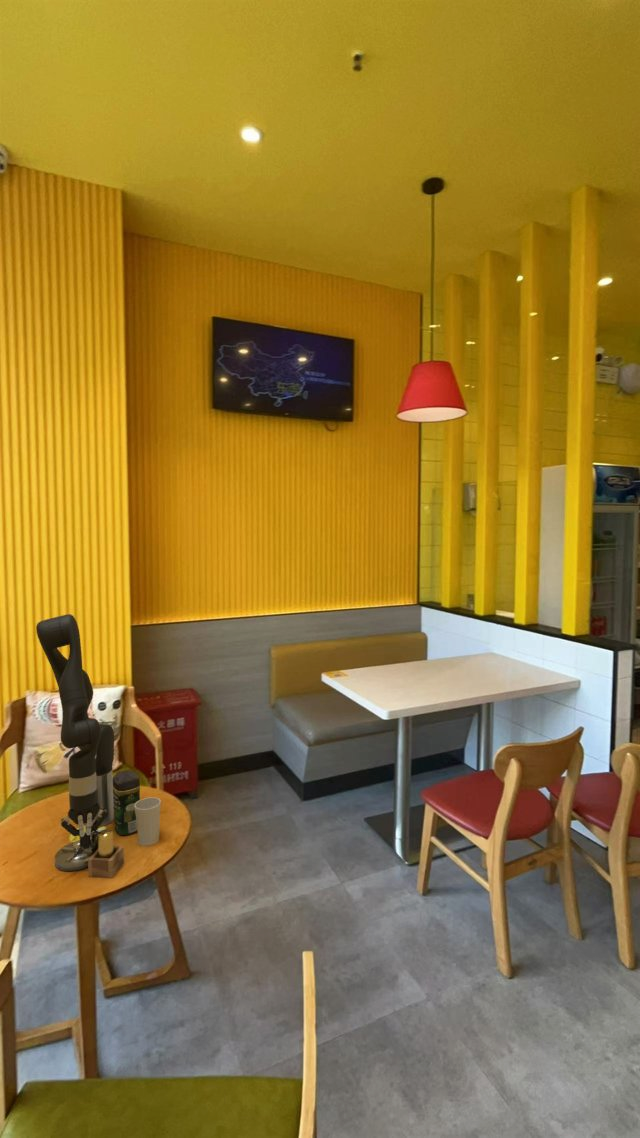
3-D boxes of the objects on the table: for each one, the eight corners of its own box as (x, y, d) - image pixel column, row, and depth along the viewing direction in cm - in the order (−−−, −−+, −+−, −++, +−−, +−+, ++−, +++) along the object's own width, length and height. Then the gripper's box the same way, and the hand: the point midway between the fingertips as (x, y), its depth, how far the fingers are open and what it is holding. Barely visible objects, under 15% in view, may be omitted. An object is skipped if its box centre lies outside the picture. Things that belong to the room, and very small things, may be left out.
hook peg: (103, 865, 156) (102, 828, 155) (116, 866, 155) (115, 829, 155) (96, 873, 152) (95, 836, 151) (109, 874, 151) (108, 836, 151)
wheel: (45, 868, 154) (44, 841, 153) (73, 843, 167) (72, 818, 166) (86, 873, 151) (85, 845, 151) (112, 847, 164) (111, 822, 164)
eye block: (101, 862, 157) (100, 845, 157) (124, 863, 156) (123, 846, 156) (88, 876, 150) (88, 859, 150) (112, 878, 149) (111, 860, 149)
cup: (131, 840, 169) (129, 803, 168) (154, 830, 174) (153, 794, 174) (142, 850, 163) (141, 812, 162) (166, 840, 169) (165, 803, 168)
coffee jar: (111, 826, 177) (109, 771, 176) (135, 818, 182) (133, 765, 181) (119, 839, 169) (117, 782, 169) (144, 831, 174) (142, 775, 173)
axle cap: (77, 845, 161) (77, 839, 160) (86, 846, 160) (86, 839, 160) (71, 851, 158) (71, 845, 157) (81, 851, 157) (80, 845, 157)
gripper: (58, 799, 147) (61, 860, 148) (109, 788, 154) (111, 846, 155) (57, 788, 154) (59, 846, 155) (106, 778, 160) (108, 834, 161)
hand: (85, 846), depth 155 cm, fingers closed
